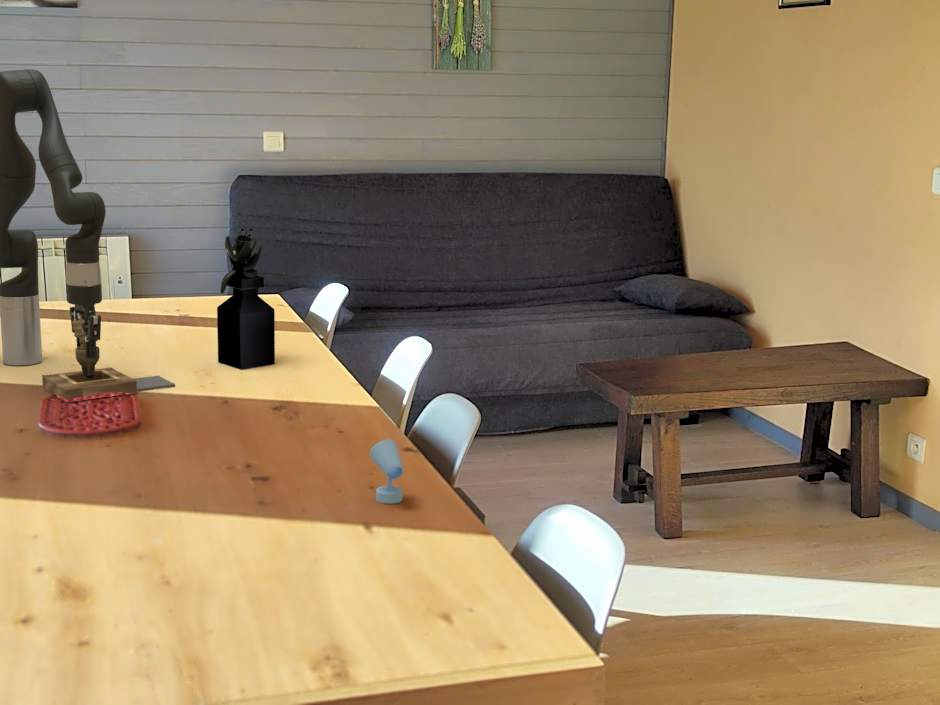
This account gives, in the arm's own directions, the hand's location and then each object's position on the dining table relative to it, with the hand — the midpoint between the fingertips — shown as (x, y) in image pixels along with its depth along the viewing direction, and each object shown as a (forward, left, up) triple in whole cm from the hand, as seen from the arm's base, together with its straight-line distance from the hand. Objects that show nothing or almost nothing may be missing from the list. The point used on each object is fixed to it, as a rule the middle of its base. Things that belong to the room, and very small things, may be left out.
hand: (86, 355), depth 248 cm
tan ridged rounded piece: (0, 0, -6) cm, 6 cm away
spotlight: (+98, +17, -8) cm, 100 cm away
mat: (+2, +13, -8) cm, 16 cm away
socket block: (+1, 0, -8) cm, 8 cm away
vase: (-7, +43, -8) cm, 44 cm away
